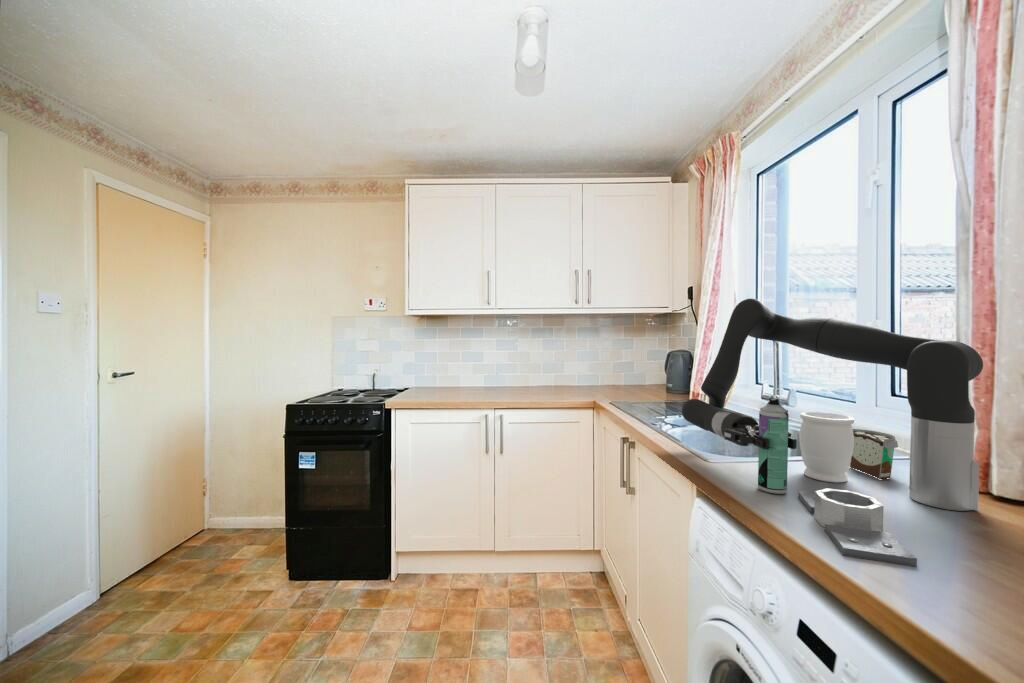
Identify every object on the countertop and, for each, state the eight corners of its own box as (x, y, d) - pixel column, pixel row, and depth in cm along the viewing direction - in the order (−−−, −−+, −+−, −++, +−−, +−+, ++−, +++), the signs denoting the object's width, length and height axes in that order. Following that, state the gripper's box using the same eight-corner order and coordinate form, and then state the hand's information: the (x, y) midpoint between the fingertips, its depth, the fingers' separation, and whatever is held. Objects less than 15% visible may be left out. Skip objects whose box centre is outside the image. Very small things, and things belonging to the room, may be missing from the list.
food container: (911, 482, 101) (913, 440, 101) (885, 482, 101) (886, 439, 101) (869, 466, 113) (870, 428, 113) (845, 466, 114) (846, 428, 113)
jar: (850, 475, 106) (851, 414, 106) (855, 488, 97) (857, 421, 97) (798, 468, 112) (799, 410, 111) (799, 479, 103) (800, 416, 103)
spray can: (783, 486, 97) (785, 397, 96) (790, 495, 92) (792, 400, 91) (755, 483, 99) (757, 395, 98) (760, 491, 93) (762, 399, 93)
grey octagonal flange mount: (849, 502, 89) (850, 478, 88) (917, 566, 64) (917, 533, 64) (798, 496, 92) (798, 473, 92) (843, 555, 67) (844, 523, 67)
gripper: (707, 412, 108) (749, 427, 92) (761, 411, 110) (813, 426, 93) (706, 442, 109) (749, 462, 92) (761, 441, 110) (812, 461, 93)
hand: (781, 444), depth 92 cm, fingers closed on spray can, 5 cm apart
